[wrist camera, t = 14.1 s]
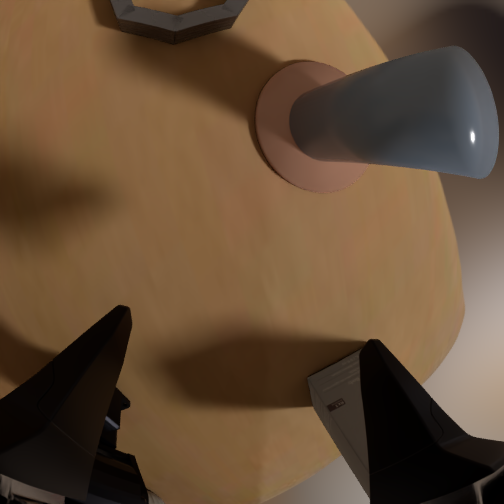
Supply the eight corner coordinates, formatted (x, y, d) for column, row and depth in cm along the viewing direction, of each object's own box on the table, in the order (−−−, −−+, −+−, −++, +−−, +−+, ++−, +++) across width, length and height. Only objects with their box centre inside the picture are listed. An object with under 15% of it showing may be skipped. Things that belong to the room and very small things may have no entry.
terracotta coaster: (285, 213, 19) (288, 215, 19) (232, 80, 15) (233, 78, 15) (384, 167, 20) (388, 168, 20) (346, 56, 17) (350, 54, 16)
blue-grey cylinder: (286, 156, 17) (441, 161, 6) (291, 82, 16) (432, 21, 5) (350, 166, 19) (496, 188, 8) (354, 100, 17) (494, 81, 6)
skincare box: (369, 340, 26) (470, 432, 12) (368, 379, 29) (446, 461, 15) (301, 377, 25) (389, 500, 10) (309, 412, 28) (377, 512, 13)
